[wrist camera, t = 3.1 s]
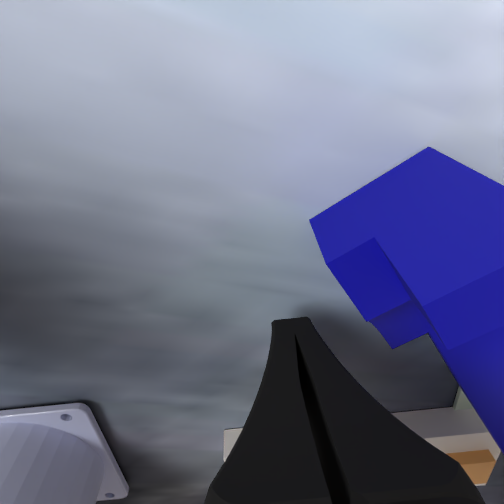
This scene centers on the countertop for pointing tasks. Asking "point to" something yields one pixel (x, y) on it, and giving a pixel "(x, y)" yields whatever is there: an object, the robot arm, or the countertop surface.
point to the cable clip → (429, 267)
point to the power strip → (440, 438)
